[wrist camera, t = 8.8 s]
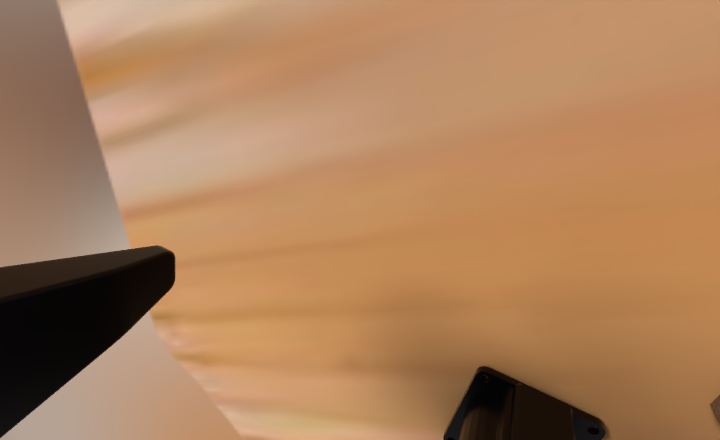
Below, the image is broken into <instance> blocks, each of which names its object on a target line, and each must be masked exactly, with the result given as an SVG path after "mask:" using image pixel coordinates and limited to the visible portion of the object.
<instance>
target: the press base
mask: <svg viewBox="0 0 720 440" xmlns="http://www.w3.org/2000/svg"><path fill="white" fill-rule="evenodd" d="M711 407H712V409H713V411H714V413H715V416H716V418H717V420H718V422H719V424H720V396H719V397H718V398H717V399H716V400H715V401H714V402H713V403H712V404H711Z"/></svg>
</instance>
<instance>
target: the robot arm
mask: <svg viewBox="0 0 720 440" xmlns="http://www.w3.org/2000/svg"><path fill="white" fill-rule="evenodd" d="M174 282H175V255H174V253H173V252H172V251H170V250H168V249H166V248H164V247H162V246H149V247H142V248H135V249H128V250H121V251H114V252H107V253H100V254H93V255H86V256H78V257H71V258H64V259H57V260H50V261H43V262H35V263H29V264H21V265H14V266H6V267H0V438H1V437H2V436H3V435H5V434H6V433H7V432H8V431H9V430H11V429H12V428H13V427H14V426H15V425H17V424H18V423H19V422H20V421H21V420H23V419H24V418H25V417H26V416H27V415H29V414H30V413H31V412H32V411H33V410H35V409H36V408H37V407H38V406H40V405H41V404H42V403H43V402H44V401H45V400H47V399H48V398H49V397H50V396H51V395H53V394H54V393H55V392H56V391H58V390H59V389H60V388H61V387H62V386H64V385H65V384H66V383H67V382H68V381H70V380H71V379H72V378H73V377H75V376H76V375H77V374H78V373H79V372H80V371H82V370H83V369H84V368H85V367H87V366H88V365H89V364H90V363H91V362H93V361H94V360H95V359H96V358H97V357H99V356H100V355H101V354H102V353H103V352H104V351H106V350H107V349H108V348H109V347H111V346H112V345H113V344H114V343H115V342H117V341H118V340H119V339H120V338H121V337H122V336H123V335H124V334H125V333H127V332H128V331H129V330H130V329H131V328H132V327H133V326H134V325H135V324H136V323H137V322H138V321H139V320H140V319H141V318H142V317H143V316H144V315H145V314H146V313H147V312H148V311H149V310H150V309H151V308H152V307H153V306H154V305H155V304H156V303H157V302H158V301H159V300H160V299H161V298H162V297H163V296H164V295H165V294H166V293H167V292H168V291H169V290H170V289H171V288H172V286H173V284H174ZM482 375H486V376H488V377H489V378H486V377H483V376H482ZM590 427H596V428H590ZM604 435H605V429H604V424H603V422H602V421H601V420H599V419H598V418H596V417H594V416H592V415H590V414H587V413H585V412H583V411H581V410H579V409H577V408H575V407H572V406H570V405H568V404H566V403H564V402H562V401H560V400H558V399H555V398H553V397H551V396H549V395H547V394H545V393H543V392H540V391H538V390H536V389H534V388H532V387H530V386H528V385H525V384H523V383H521V382H519V381H517V380H515V379H513V378H510V377H508V376H506V375H504V374H502V373H500V372H498V371H496V370H493V369H491V368H489V367H486V366H482V367H479V368H478V369H477V370H476V372H475V374H474V376H473V378H472V380H471V382H470V384H469V386H468V388H467V390H466V392H465V394H464V395H463V397H462V399H461V401H460V403H459V405H458V407H457V409H456V411H455V413H454V415H453V417H452V419H451V421H450V423H449V424H448V426H447V428H446V430H445V433H444V438H443V439H444V440H601V439H602V438H603V437H604Z"/></svg>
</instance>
